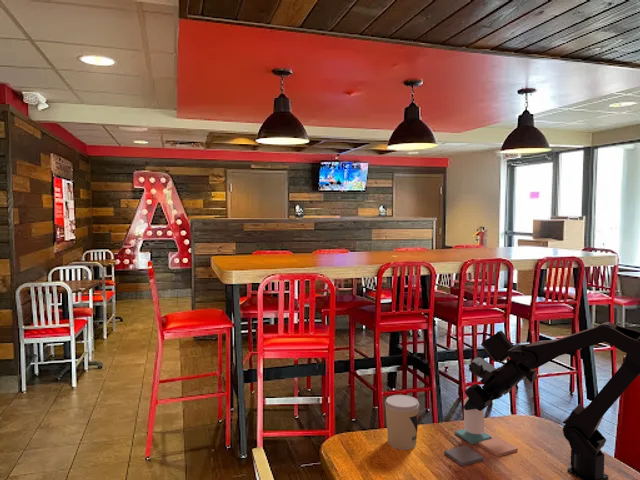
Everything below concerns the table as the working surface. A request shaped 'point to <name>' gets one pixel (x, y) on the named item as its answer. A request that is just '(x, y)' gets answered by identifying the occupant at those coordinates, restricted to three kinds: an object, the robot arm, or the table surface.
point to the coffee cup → (402, 421)
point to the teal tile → (472, 436)
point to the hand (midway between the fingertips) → (469, 405)
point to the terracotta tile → (498, 446)
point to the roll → (473, 420)
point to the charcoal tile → (464, 455)
